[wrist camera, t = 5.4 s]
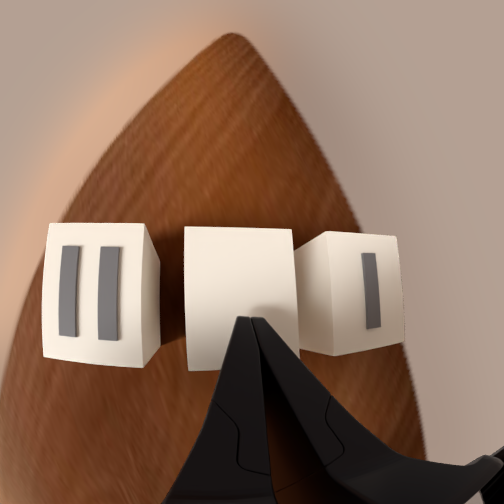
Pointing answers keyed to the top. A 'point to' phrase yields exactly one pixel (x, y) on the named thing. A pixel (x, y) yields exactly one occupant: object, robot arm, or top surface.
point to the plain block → (236, 288)
